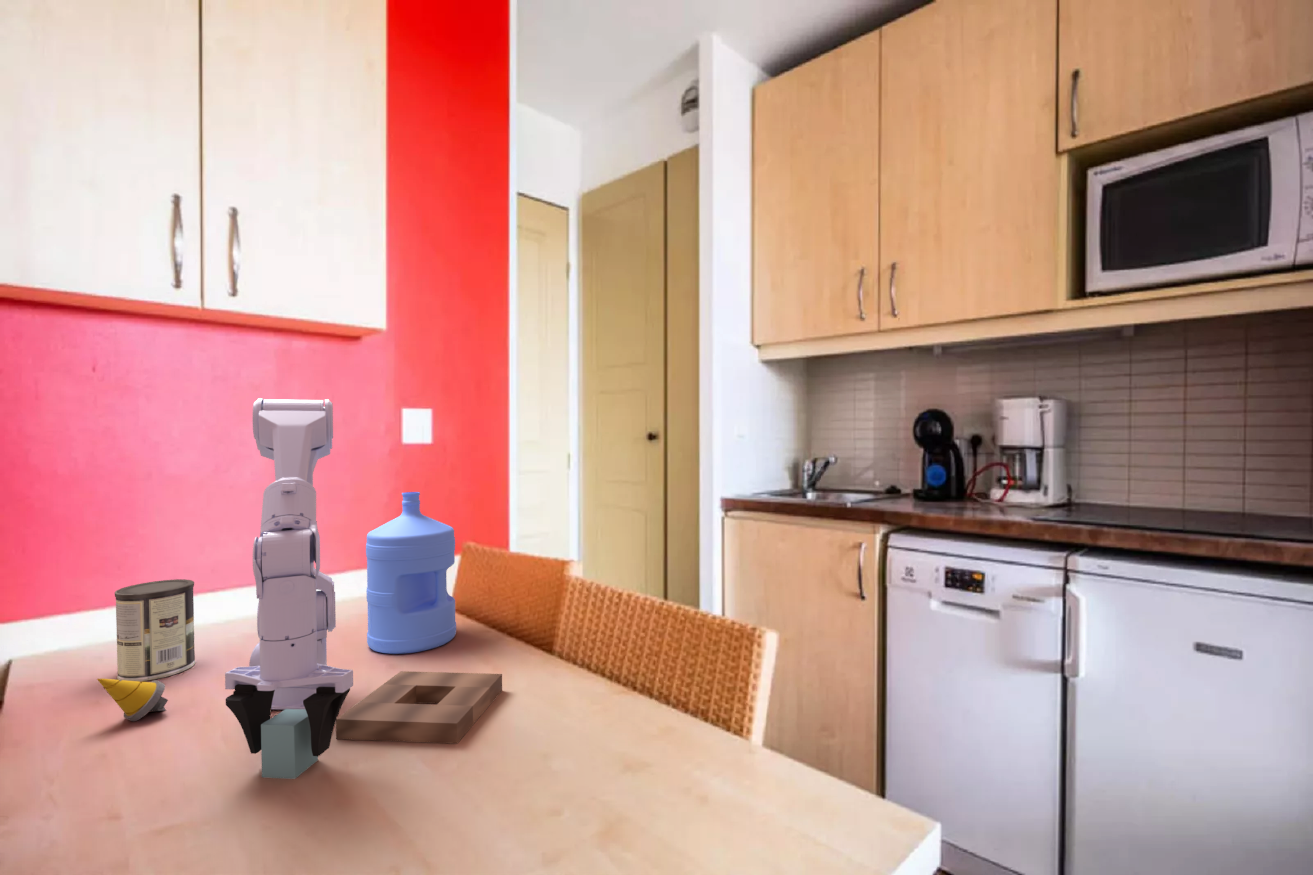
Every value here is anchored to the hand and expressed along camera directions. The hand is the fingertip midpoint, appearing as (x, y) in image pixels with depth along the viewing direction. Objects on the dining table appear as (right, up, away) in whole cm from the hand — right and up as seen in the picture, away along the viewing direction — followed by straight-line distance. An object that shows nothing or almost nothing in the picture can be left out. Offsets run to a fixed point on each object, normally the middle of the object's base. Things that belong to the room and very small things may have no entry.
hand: (290, 750), depth 71 cm
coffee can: (-41, -3, +31) cm, 52 cm away
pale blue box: (0, -2, 0) cm, 2 cm away
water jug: (-4, -2, +45) cm, 45 cm away
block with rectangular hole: (+10, -2, +14) cm, 18 cm away
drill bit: (-29, -3, +13) cm, 32 cm away
